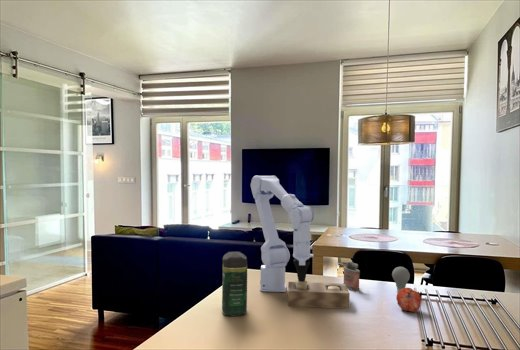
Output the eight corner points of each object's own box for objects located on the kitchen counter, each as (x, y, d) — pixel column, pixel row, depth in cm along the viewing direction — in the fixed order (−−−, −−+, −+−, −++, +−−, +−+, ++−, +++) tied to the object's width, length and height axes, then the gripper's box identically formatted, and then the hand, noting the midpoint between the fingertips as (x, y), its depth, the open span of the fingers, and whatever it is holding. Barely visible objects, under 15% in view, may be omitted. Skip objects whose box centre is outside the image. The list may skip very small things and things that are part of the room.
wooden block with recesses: (288, 306, 117) (288, 291, 117) (288, 295, 127) (288, 281, 127) (349, 308, 116) (349, 293, 116) (344, 297, 126) (345, 283, 125)
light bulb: (410, 293, 130) (411, 266, 130) (407, 298, 125) (408, 270, 125) (393, 290, 134) (394, 264, 134) (390, 294, 129) (390, 267, 129)
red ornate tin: (341, 285, 139) (341, 260, 139) (347, 284, 140) (348, 259, 140) (354, 291, 132) (354, 265, 132) (361, 290, 133) (362, 264, 133)
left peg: (295, 296, 120) (295, 282, 120) (295, 292, 124) (295, 278, 124) (307, 297, 120) (307, 282, 120) (306, 293, 124) (307, 279, 124)
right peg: (328, 304, 119) (328, 289, 119) (327, 299, 123) (327, 285, 123) (340, 304, 119) (340, 290, 119) (338, 300, 123) (338, 286, 123)
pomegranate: (395, 311, 119) (391, 301, 112) (401, 291, 122) (397, 280, 115) (419, 319, 115) (416, 309, 108) (424, 298, 118) (422, 286, 111)
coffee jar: (248, 316, 109) (248, 256, 109) (222, 317, 108) (223, 257, 107) (245, 304, 118) (245, 249, 118) (221, 306, 117) (221, 250, 117)
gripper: (314, 246, 114) (314, 288, 114) (312, 238, 129) (312, 275, 129) (292, 245, 115) (292, 287, 115) (292, 237, 129) (292, 274, 129)
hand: (301, 280), depth 122 cm, fingers closed, pressing on left peg
